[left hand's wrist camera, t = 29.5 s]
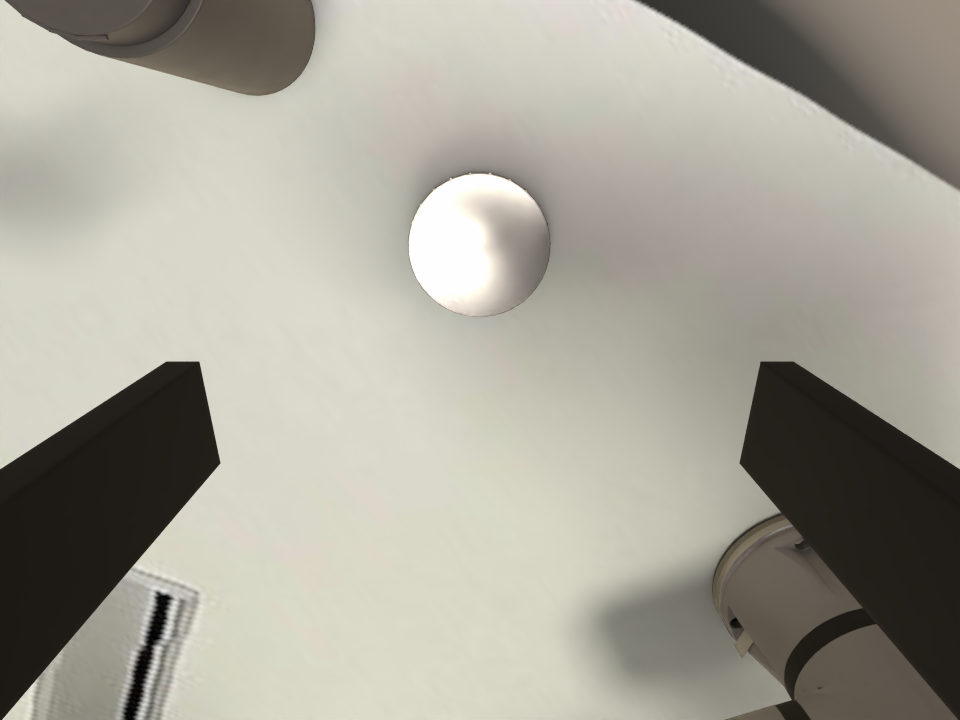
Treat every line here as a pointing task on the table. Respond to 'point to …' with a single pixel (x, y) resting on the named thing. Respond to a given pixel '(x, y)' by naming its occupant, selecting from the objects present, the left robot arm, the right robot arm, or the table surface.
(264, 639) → the table surface
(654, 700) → the table surface
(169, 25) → the jar
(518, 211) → the lid
